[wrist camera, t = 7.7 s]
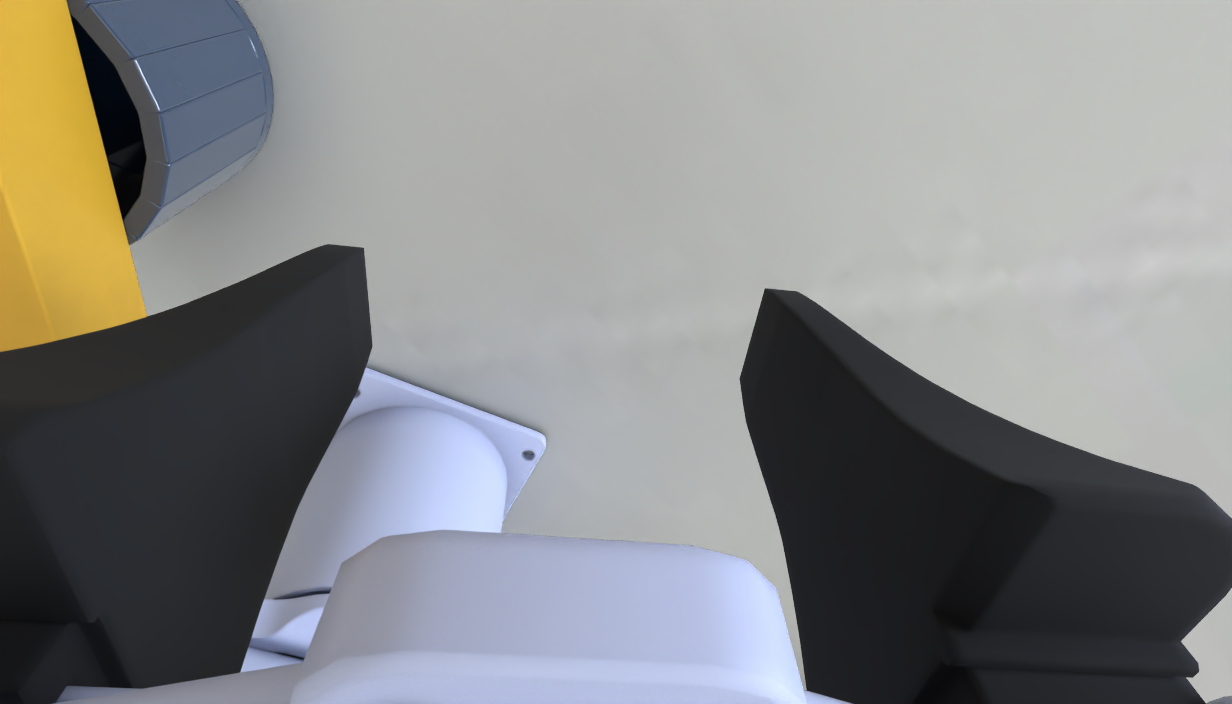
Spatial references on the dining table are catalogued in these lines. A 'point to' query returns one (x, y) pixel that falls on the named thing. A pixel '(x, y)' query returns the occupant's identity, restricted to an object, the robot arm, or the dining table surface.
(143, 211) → the espresso cup
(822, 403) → the robot arm
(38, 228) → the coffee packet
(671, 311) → the dining table surface
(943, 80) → the dining table surface
